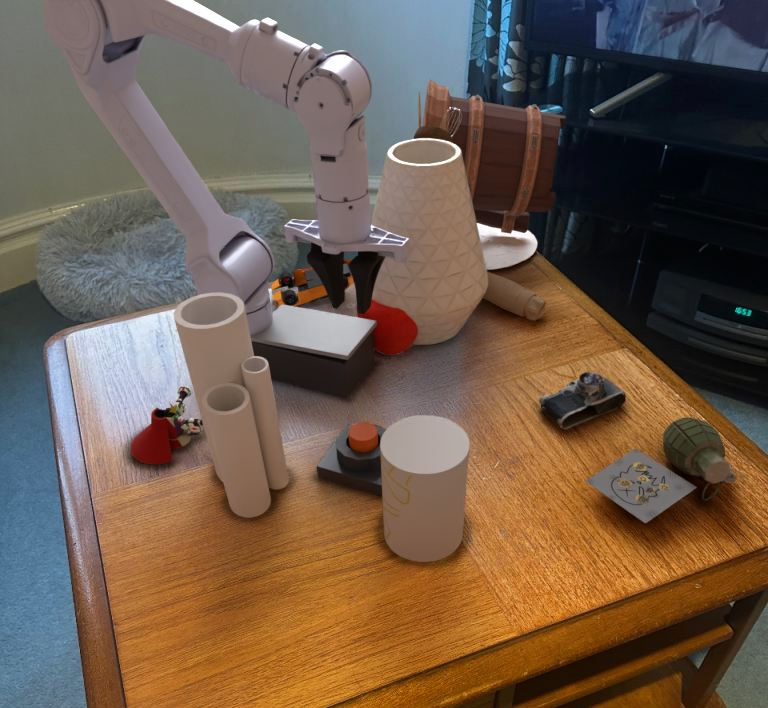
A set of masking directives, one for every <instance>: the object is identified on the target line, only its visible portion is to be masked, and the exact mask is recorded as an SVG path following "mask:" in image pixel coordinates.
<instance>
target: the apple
mask: <svg viewBox="0 0 768 708" xmlns="http://www.w3.org/2000/svg"><path fill="white" fill-rule="evenodd" d="M355 308H356V317H358V318H364V319H370V320H376V321H377V326H376V327H375V328H374V329H373V334H374V351H377V352H378V353H380V354H382V355H386V356H396V355H399V354H402V353H405V352H406V351H407V350H409V349H410V348H411V346H412V345H413V342H414V341H415V339H416V337H417V335H418V328H417V325H416V323H415V322H414V321H413V319H412V318H411V317H410V316H408V315H407V314H406V312H405V311H403V310H401V309H399V308H392V307H388V306H385V305H382V304H379V303H377V302H376V301H374V300H371V307H370V308H369V309H368V310H367V312H366V313H365V314H359V313H358V310H357V306H356V307H355Z"/></svg>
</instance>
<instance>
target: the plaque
mask: <svg viewBox="0 0 768 708" xmlns="http://www.w3.org/2000/svg"><path fill="white" fill-rule="evenodd" d="M477 227H478V231H479V236H480V241H481V245H482V250H483V255H484V259H485V264H486V269H487V271H489V270H498V269H503V268H508V267H512V266H514V265H516V264H519V263H521V262H523V261H526V260H528V259H529V258H531V256H533V255H534V253H535V252H536V250H537V248H538V239H537V238H536V235H534V234H533V233H532V232H531V231H530V230H529V229H528V230H527V232H525V233H522V232H518V231H514V230H512V232H511V234H510V233H504V232H501V229H499V228H493V227H489V226H486V225H482V224H479V223H477Z"/></svg>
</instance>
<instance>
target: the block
mask: <svg viewBox="0 0 768 708" xmlns="http://www.w3.org/2000/svg"><path fill="white" fill-rule="evenodd" d="M372 424H373V425H375V426H376V428H377V430H378V445H377V447H376V448H375V449H374V450H372V451H370V452H362V453H360V452H357V451H354V450H353V449H352V448H351V447H350V445H349V435H348V431H349V429H350V427H351V426H352V425H353V424H351V423H347V425H346V426H345V427H344V429H342V430H341V431H340V432H339V433H338V435H337V436H336V438H335V441H334V442H333V443H332V445H331V446H330V448H328V449H327V452H326V453H325V454H324V455H323V457H322V458H321V459H320V461H319V462H318V463H317V465H316V467H315V468H316V474H317V475H316V476H317V478H319V479H323V480H326V481H329V482H333V483H337V484H340V485H343V486H345V487H349V488H351V489H356V490H360V491H362V492H365V493H370V494H371V495H376V496H378V497H382V475H381V451H380V441H381V437H382V435H383V433H384V432H385V431H386V429H385V428H384V427H383V426H382V425H378V424H376V423H375V424H374V423H372Z"/></svg>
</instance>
